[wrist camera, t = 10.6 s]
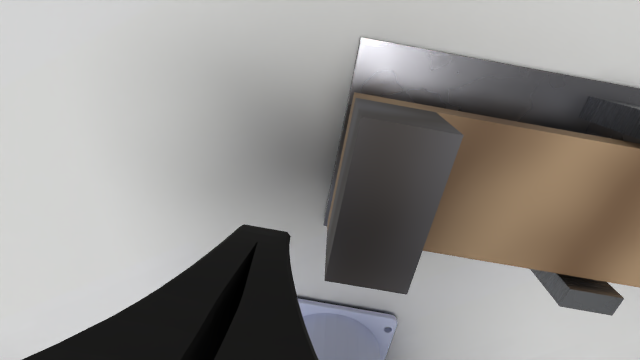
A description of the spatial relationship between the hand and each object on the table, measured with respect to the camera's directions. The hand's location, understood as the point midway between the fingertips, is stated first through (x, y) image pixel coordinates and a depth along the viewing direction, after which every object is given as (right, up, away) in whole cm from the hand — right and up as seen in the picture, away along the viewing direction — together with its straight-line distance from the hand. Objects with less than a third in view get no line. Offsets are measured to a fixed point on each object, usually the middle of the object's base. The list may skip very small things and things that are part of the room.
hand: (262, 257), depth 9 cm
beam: (+14, +1, +5) cm, 15 cm away
